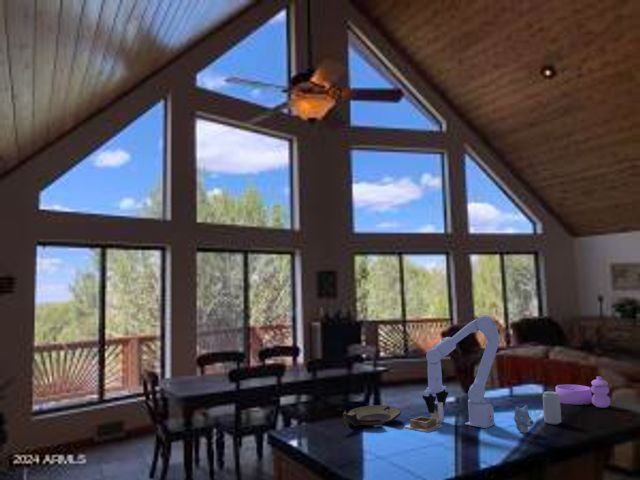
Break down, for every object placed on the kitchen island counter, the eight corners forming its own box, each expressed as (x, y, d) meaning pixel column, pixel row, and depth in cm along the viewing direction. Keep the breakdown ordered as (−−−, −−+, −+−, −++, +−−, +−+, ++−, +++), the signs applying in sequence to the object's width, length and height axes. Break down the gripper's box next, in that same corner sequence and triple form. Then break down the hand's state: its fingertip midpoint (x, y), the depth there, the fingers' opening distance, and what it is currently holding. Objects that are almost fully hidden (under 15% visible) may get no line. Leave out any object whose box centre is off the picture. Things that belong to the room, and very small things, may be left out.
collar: (442, 426, 214) (442, 418, 215) (427, 432, 207) (427, 424, 207) (419, 422, 222) (419, 414, 222) (404, 427, 214) (403, 420, 215)
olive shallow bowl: (413, 425, 218) (412, 406, 219) (348, 435, 206) (347, 415, 207) (385, 414, 239) (384, 396, 239) (324, 423, 227) (324, 404, 227)
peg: (443, 422, 222) (442, 402, 222) (438, 424, 219) (437, 404, 219) (435, 420, 224) (434, 401, 225) (430, 422, 221) (429, 402, 222)
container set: (549, 400, 255) (547, 372, 256) (570, 396, 262) (568, 369, 263) (598, 410, 233) (596, 379, 234) (619, 405, 240) (617, 375, 241)
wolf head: (526, 437, 196) (524, 409, 197) (511, 431, 205) (509, 404, 206) (540, 435, 198) (538, 407, 199) (525, 429, 206) (523, 403, 207)
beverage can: (543, 424, 213) (541, 393, 214) (545, 420, 219) (543, 390, 220) (560, 425, 210) (558, 394, 212) (562, 421, 216) (559, 391, 217)
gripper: (436, 374, 231) (437, 406, 230) (416, 379, 221) (418, 412, 220) (450, 376, 226) (452, 408, 225) (431, 381, 216) (433, 415, 215)
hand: (436, 411), depth 222 cm, fingers open, 7 cm apart
